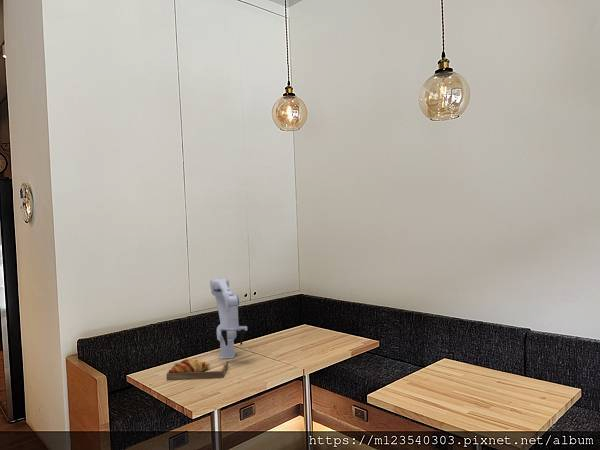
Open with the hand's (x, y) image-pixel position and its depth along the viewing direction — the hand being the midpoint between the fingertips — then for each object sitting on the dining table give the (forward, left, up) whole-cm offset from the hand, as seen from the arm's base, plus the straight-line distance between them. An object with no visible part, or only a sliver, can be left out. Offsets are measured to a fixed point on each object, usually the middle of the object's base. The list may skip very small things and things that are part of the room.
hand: (234, 344), depth 232 cm
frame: (+13, -16, -10) cm, 23 cm away
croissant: (+13, -20, -10) cm, 26 cm away
